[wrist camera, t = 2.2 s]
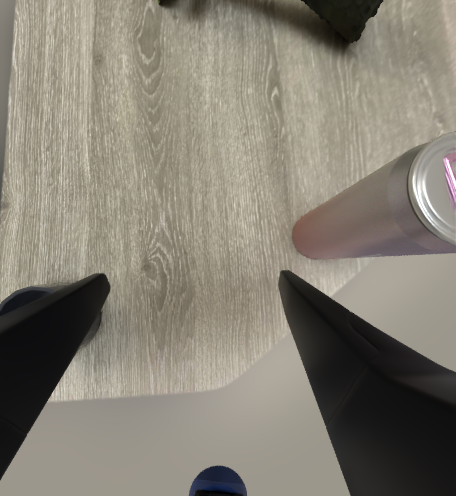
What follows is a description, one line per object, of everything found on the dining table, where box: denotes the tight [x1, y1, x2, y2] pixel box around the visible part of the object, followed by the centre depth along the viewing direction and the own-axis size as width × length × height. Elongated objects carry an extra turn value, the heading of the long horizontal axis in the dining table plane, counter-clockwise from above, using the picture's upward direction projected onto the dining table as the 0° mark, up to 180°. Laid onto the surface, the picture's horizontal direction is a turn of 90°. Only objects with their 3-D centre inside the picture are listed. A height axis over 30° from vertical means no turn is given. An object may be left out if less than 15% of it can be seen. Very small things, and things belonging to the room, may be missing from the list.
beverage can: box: [293, 131, 456, 259], centre depth 16 cm, size 6×6×15 cm
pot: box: [0, 283, 101, 350], centre depth 20 cm, size 8×8×4 cm
